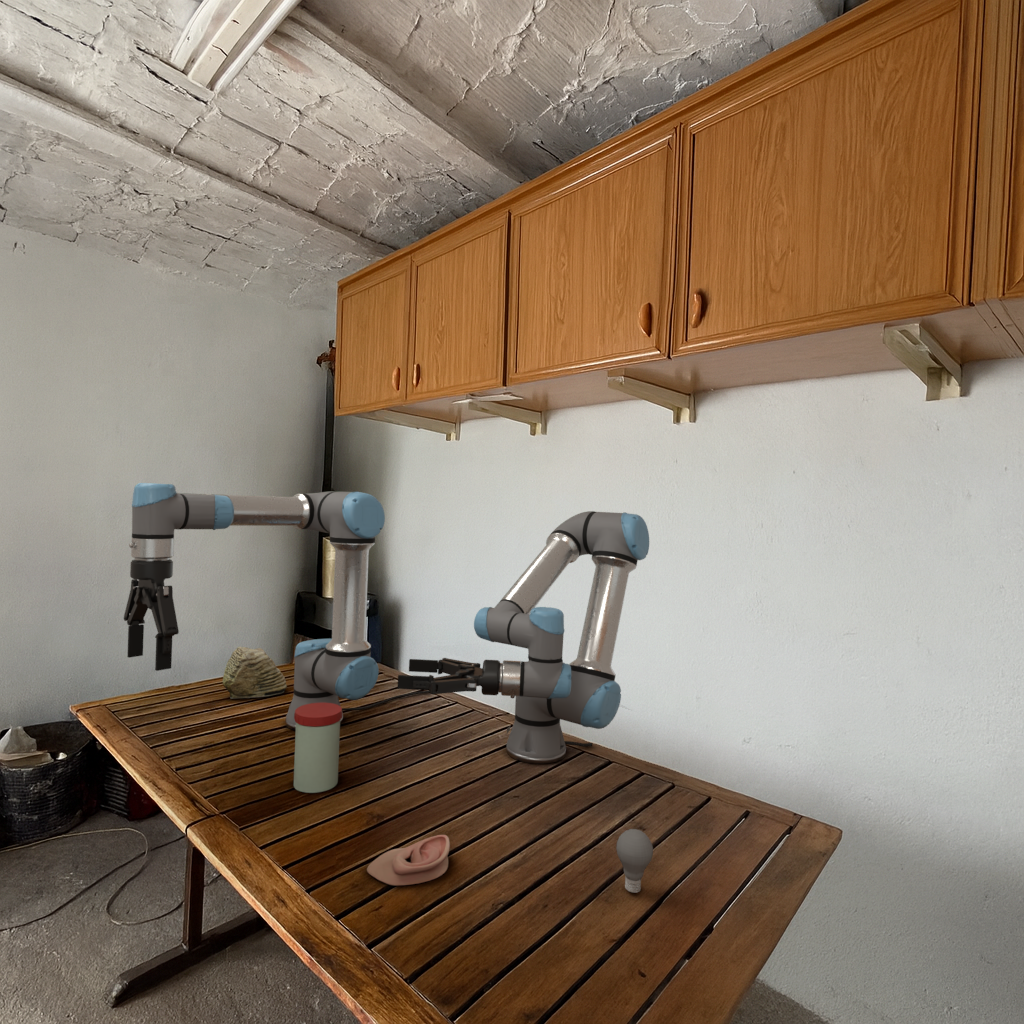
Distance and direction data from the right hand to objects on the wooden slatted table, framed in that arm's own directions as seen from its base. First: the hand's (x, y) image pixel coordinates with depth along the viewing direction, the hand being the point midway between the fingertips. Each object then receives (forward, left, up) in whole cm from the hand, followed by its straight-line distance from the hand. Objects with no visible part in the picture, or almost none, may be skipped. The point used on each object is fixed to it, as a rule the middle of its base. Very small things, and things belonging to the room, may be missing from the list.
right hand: (403, 673), depth 139 cm
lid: (+17, -8, -9) cm, 21 cm away
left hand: (+50, -12, +3) cm, 52 cm away
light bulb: (-27, +50, -25) cm, 62 cm away
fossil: (+27, -76, -25) cm, 85 cm away
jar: (+17, -8, -25) cm, 31 cm away
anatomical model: (+6, +30, -25) cm, 40 cm away
